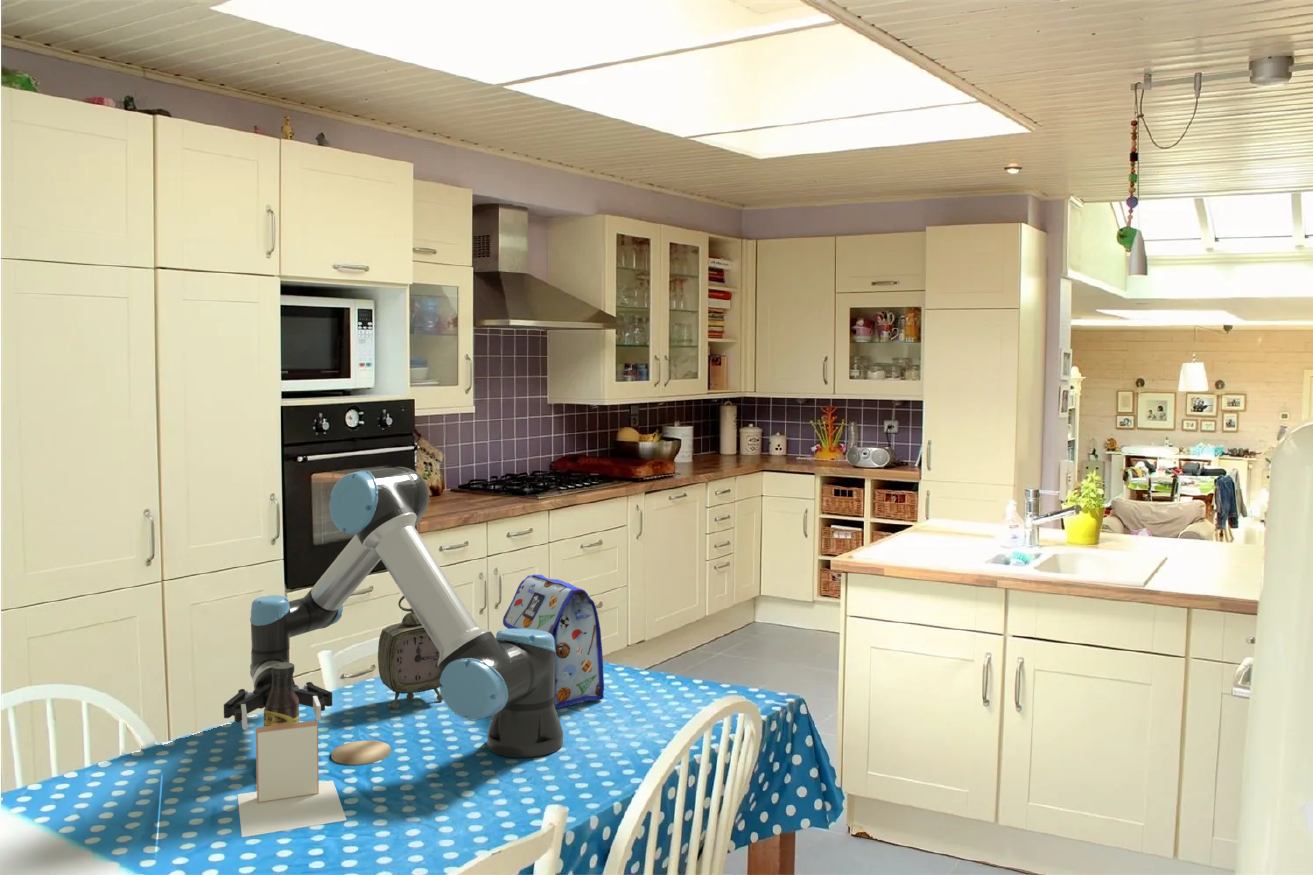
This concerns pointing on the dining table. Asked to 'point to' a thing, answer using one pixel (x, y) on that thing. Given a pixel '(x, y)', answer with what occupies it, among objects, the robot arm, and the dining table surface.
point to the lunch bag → (563, 634)
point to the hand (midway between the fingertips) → (282, 717)
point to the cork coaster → (361, 752)
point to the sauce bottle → (282, 697)
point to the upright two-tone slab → (287, 761)
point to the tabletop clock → (408, 658)
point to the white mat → (289, 811)
